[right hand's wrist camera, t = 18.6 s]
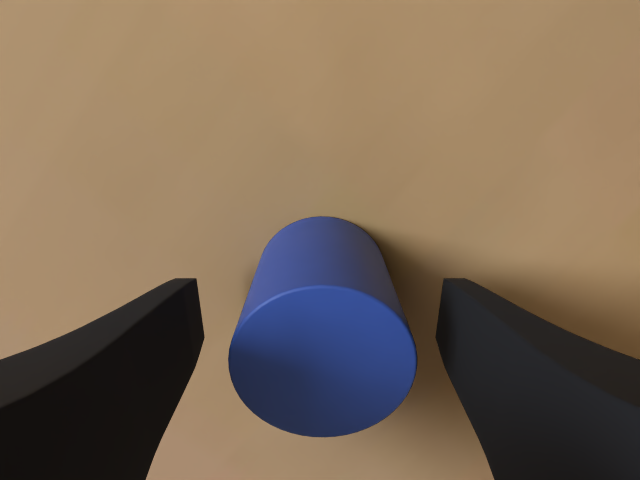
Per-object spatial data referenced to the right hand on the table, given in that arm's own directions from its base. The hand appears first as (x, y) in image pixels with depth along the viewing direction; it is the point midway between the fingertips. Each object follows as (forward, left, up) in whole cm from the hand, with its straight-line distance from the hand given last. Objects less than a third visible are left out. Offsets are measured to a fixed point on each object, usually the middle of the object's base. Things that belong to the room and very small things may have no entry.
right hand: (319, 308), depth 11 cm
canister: (0, 0, -2) cm, 2 cm away
